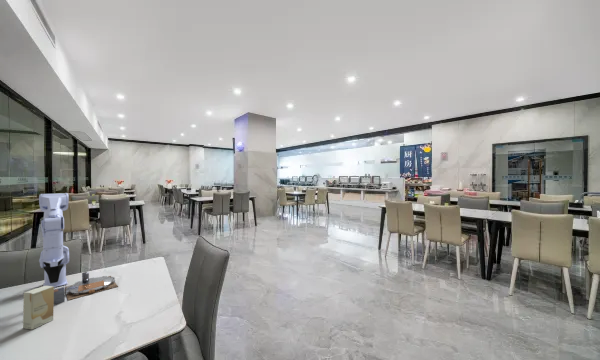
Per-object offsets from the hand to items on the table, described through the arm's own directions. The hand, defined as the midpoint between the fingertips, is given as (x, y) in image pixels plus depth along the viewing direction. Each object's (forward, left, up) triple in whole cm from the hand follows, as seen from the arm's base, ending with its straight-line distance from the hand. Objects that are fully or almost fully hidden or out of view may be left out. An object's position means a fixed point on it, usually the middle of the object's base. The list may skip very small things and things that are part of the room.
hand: (53, 279), depth 98 cm
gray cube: (0, 0, -10) cm, 10 cm away
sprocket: (-8, +13, -10) cm, 17 cm away
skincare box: (+16, -4, -10) cm, 20 cm away
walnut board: (-8, +13, -10) cm, 17 cm away
